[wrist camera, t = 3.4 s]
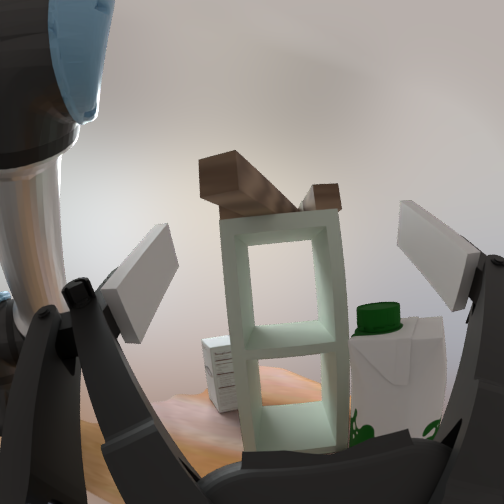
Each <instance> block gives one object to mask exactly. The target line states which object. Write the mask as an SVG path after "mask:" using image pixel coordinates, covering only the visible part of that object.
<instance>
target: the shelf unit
mask: <svg viewBox="0 0 504 504" xmlns="http://www.w3.org/2000/svg"><path fill="white" fill-rule="evenodd" d="M219 225H220V238H221V250H222V262H223V273H224V285H225V295H226V305H227V316H228V325H229V335H230V344H231V353H232V362H233V371H234V379H235V387H236V395H237V403H238V411H239V418H240V426H241V433H242V440H243V447H244V452H254V451H280V450H287V451H294V452H302V453H311V454H326V453H333V452H339V451H342V450H345V449H347V445H348V428H349V400H350V356H349V348H348V340H349V325H348V306H347V293H346V279H345V269H344V258H343V248H342V240H341V231H340V223H339V216H338V209H325V210H313V211H302V212H291V213H281V214H270V215H261V216H251V217H242V218H233V219H224V220H219ZM302 240H312V251H313V260H314V271H315V281H316V292H317V307H318V320H313V321H305V322H295V323H285V324H273V325H262V326H255V324H254V323H255V322H254V311H253V301H252V290H251V279H250V268H249V257H248V246H252V245H262V244H272V243H282V242H292V241H302ZM313 354H320V358H321V387H322V401H316V402H308V403H299V404H288V405H275V406H262V396H261V386H260V375H259V365H258V360H259V359H273V358H284V357H295V356H305V355H313Z"/></svg>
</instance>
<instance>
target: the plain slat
mask: <svg viewBox="0 0 504 504" xmlns="http://www.w3.org/2000/svg"><path fill="white" fill-rule="evenodd" d="M199 179H200V180H199V183H200V198H202V199H205V200H207V201H210V202H212V203H214V204H217V205H219V206H221V207H224V208H226V209H229V210H231V211H233V212H236V213H238V214H240V215H243V216H245V217H251V216H261V215H270V214H281V213H291V212H298V209H297V208H296V207H295V206H294V205H293V204H292V203H291V202H290V201H289V200H288V199H287V198H286V197H285V196H284V195H283V194H282V193H281V192H280V191H279V190H278V189H277V188H275V186H274V185H272V183H270V182H269V181H268V180H267V179H266V178H265V177H264V176H263V175H262V174H261V173H260V172H259V171H258V170H257V169H256V168H254V167H253V166H252V165H251V164H250V163H249V162H248V161H247V160H246V159H245V158H244V157H243V156H241V155H240V154H239V153H238V152H237V151H236V150H234V151H230V152H226V153H222V154H218V155H214V156H211V157H207V158H204V159H200V160H199Z"/></svg>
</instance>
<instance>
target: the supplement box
mask: <svg viewBox="0 0 504 504" xmlns="http://www.w3.org/2000/svg"><path fill="white" fill-rule="evenodd" d="M201 341H202V349H203V357H204V364H205V372H206V379H207V386H208V392H209V398H210V399H211V401H212V402H213V403H214V405H215V407H216V408H217V410H218V412H219V413H222V412H228V411H232V410H237V409H238V403H237V395H236V387H235V379H234V371H233V362H232V353H231V344H230V335H227V336H220V337H214V338H207V339H202V340H201Z"/></svg>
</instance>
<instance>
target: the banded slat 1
mask: <svg viewBox="0 0 504 504" xmlns="http://www.w3.org/2000/svg"><path fill="white" fill-rule="evenodd" d="M219 212H220V220H224V219H233V218H242V217H245V216H243V215H240V214H238V213H236V212H233V211H231V210H229V209H226V208H224V207H221V206H219Z"/></svg>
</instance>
